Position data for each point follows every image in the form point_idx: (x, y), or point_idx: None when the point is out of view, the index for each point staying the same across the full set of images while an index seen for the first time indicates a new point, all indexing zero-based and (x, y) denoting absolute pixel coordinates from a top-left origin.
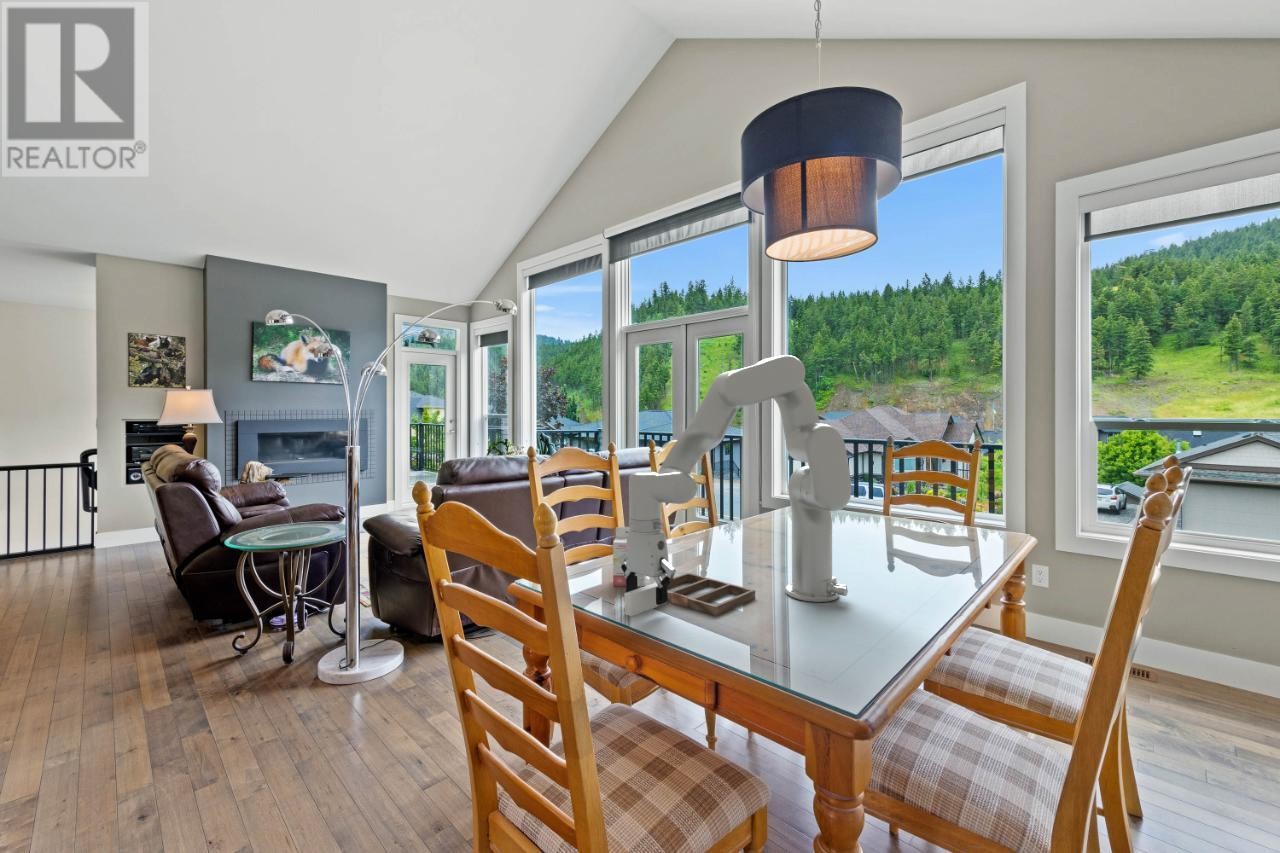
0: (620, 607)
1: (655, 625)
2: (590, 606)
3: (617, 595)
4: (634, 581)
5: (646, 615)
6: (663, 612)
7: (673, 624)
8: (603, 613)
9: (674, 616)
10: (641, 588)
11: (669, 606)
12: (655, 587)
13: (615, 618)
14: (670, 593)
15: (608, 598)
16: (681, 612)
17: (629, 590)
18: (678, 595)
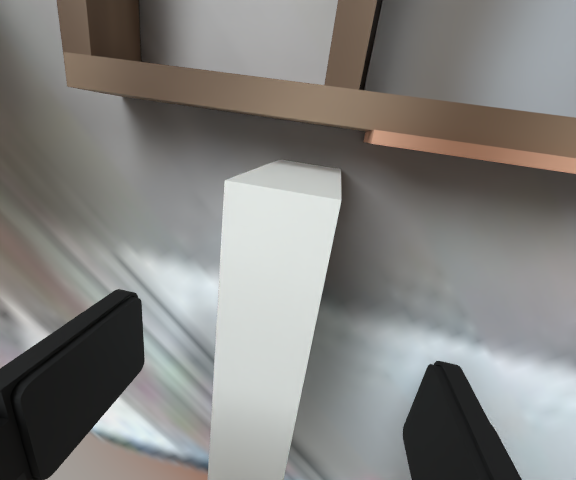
0: (171, 361)
1: None
2: None
3: (24, 231)
4: (68, 390)
5: (345, 394)
6: (408, 325)
7: (546, 437)
8: (171, 438)
9: (505, 349)
10: (228, 459)
11: (393, 222)
12: (304, 373)
13: None
14: (351, 126)
15: (36, 291)
16: (527, 275)
17: (123, 382)
18: (472, 157)
